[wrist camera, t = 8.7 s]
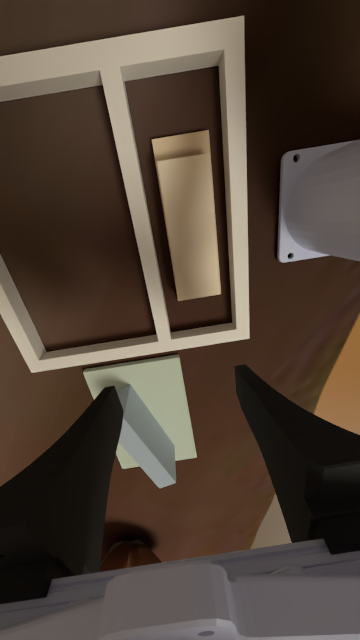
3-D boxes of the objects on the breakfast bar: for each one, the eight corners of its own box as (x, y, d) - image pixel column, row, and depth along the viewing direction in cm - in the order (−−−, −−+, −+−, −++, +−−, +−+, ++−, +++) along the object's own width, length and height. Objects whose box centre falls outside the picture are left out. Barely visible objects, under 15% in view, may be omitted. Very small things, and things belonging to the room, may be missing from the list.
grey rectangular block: (130, 384, 24) (123, 417, 20) (174, 445, 28) (176, 482, 24) (114, 391, 24) (103, 425, 20) (160, 450, 28) (159, 488, 24)
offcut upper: (206, 157, 16) (209, 153, 15) (216, 290, 20) (219, 294, 19) (157, 165, 16) (156, 161, 15) (177, 296, 20) (178, 300, 19)
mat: (178, 354, 23) (179, 357, 23) (196, 453, 30) (196, 457, 29) (84, 369, 23) (82, 372, 23) (123, 464, 30) (122, 468, 29)
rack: (236, 35, 14) (244, 15, 12) (244, 331, 22) (249, 338, 21) (-97, 91, 14) (-126, 77, 13) (39, 363, 23) (31, 372, 21)
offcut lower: (205, 136, 16) (208, 129, 15) (218, 290, 21) (220, 294, 20) (152, 145, 16) (151, 139, 15) (177, 297, 21) (178, 301, 20)
